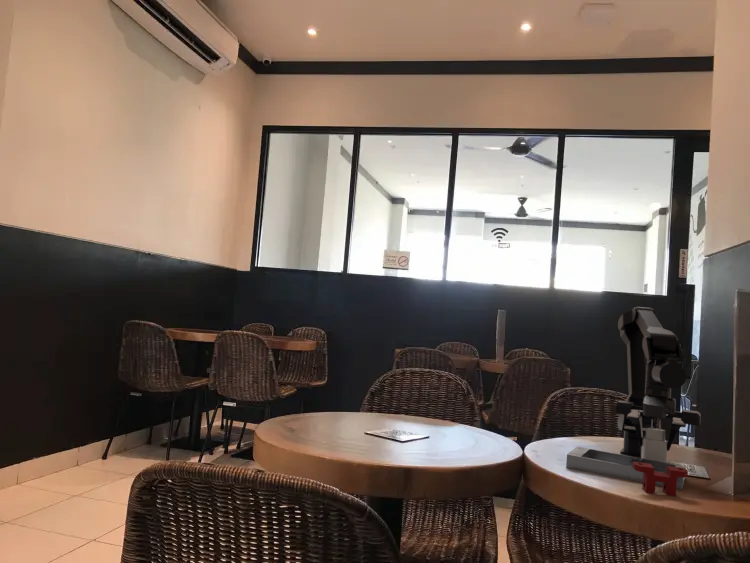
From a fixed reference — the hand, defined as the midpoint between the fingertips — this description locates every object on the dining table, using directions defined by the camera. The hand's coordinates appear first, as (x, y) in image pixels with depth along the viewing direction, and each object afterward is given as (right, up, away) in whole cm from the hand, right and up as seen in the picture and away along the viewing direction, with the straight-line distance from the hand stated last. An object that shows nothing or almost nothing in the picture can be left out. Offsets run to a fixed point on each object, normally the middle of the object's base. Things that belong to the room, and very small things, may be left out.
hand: (654, 448), depth 141 cm
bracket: (-5, -1, -23) cm, 24 cm away
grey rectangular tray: (-10, -4, -7) cm, 13 cm away
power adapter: (0, -5, 0) cm, 5 cm away
